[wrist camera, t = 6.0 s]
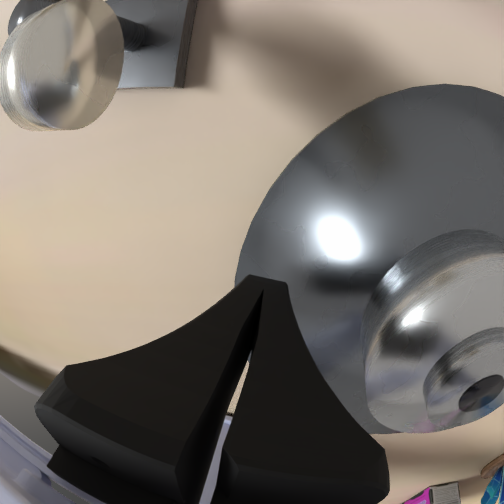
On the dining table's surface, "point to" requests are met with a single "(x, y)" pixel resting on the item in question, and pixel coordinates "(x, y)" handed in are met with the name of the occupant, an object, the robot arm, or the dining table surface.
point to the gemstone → (494, 481)
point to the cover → (437, 335)
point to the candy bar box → (438, 495)
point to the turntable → (374, 213)
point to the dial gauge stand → (89, 56)
